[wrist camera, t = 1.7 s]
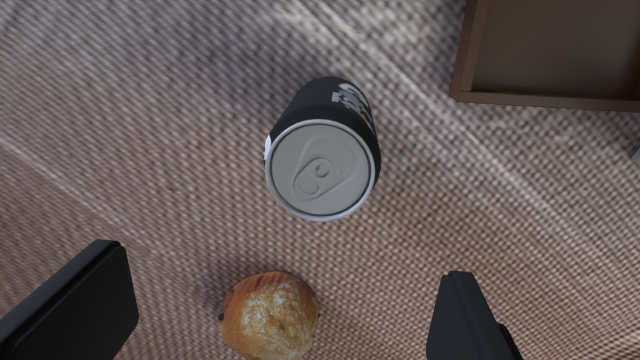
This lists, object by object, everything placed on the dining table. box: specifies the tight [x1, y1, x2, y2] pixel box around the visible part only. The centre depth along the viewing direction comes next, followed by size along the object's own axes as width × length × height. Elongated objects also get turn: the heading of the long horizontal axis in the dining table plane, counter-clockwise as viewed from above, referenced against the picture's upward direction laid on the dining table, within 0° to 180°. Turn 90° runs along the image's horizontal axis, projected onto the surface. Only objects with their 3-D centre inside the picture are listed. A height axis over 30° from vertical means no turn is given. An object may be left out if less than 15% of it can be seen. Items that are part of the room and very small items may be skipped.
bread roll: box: [218, 271, 321, 360], centre depth 36 cm, size 10×10×8 cm
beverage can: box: [263, 77, 381, 222], centre depth 24 cm, size 7×7×12 cm
